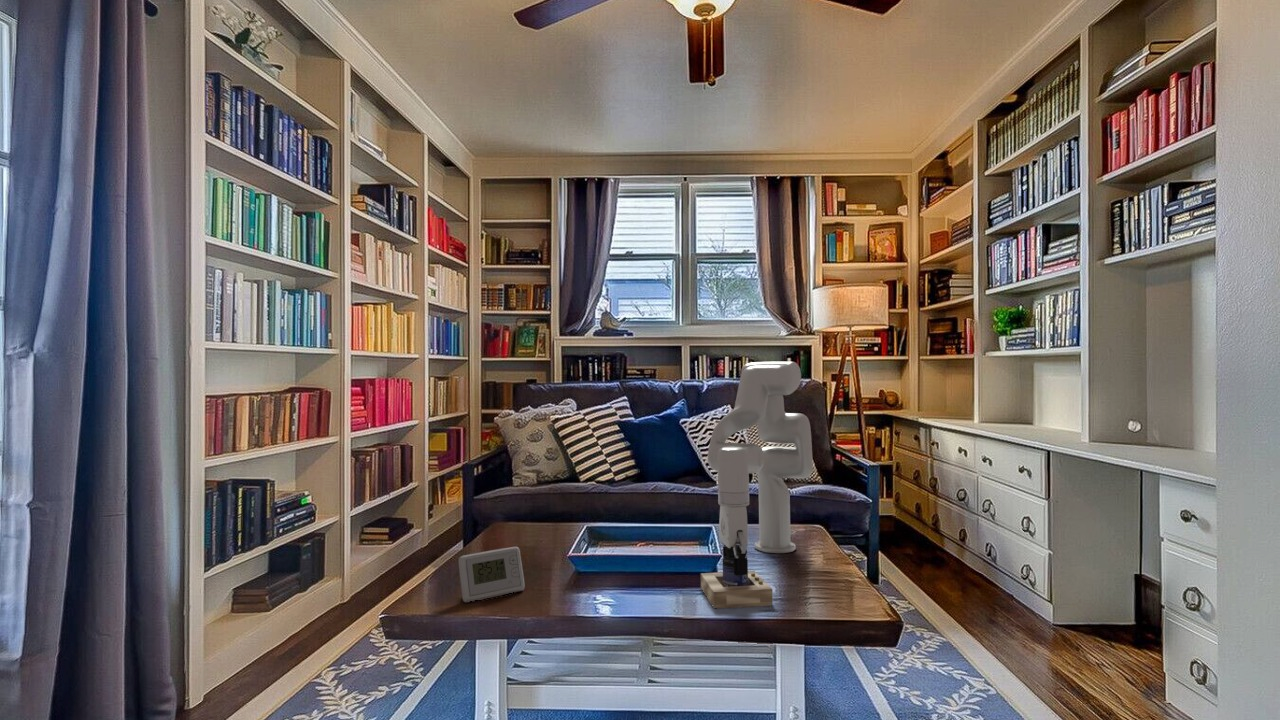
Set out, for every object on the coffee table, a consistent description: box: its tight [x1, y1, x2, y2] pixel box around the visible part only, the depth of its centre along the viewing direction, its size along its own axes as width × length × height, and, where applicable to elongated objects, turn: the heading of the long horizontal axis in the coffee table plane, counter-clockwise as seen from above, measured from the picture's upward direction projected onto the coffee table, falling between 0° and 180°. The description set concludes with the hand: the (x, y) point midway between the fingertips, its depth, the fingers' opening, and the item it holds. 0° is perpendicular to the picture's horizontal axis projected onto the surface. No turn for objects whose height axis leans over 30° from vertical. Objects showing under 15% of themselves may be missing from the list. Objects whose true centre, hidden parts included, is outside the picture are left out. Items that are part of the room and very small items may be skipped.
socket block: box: [700, 570, 774, 609], centre depth 151 cm, size 14×14×4 cm
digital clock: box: [458, 546, 526, 603], centre depth 155 cm, size 16×9×11 cm, turn 113°
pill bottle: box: [722, 546, 749, 587], centre depth 152 cm, size 6×6×11 cm
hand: (734, 568), depth 152 cm, fingers open, 9 cm apart
